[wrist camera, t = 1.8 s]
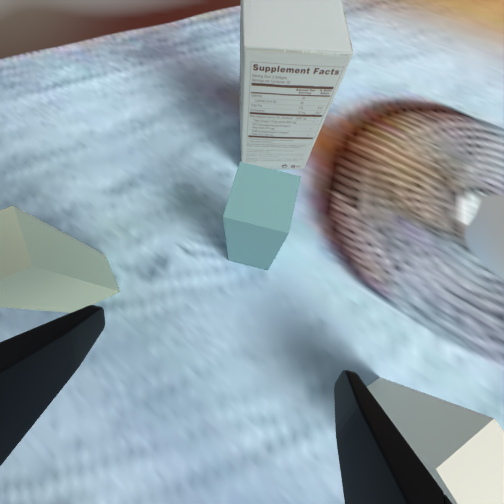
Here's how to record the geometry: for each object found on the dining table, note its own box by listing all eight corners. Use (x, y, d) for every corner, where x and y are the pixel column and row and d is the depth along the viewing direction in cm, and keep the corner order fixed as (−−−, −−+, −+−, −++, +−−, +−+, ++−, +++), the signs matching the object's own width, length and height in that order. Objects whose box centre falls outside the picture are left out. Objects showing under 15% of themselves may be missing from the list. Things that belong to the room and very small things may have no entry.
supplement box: (239, 117, 29) (240, -30, 17) (299, 120, 29) (343, -23, 17) (238, 170, 27) (240, 44, 15) (304, 172, 27) (357, 51, 15)
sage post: (76, 313, 22) (-52, 303, 12) (62, 274, 22) (-67, 236, 13) (120, 291, 22) (32, 265, 13) (105, 255, 23) (12, 205, 14)
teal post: (267, 270, 24) (288, 233, 14) (228, 260, 24) (222, 216, 14) (276, 233, 25) (300, 176, 15) (238, 224, 25) (239, 161, 15)
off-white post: (371, 450, 20) (498, 567, 10) (344, 402, 21) (435, 468, 11) (408, 422, 21) (556, 506, 11) (379, 377, 21) (494, 418, 12)
